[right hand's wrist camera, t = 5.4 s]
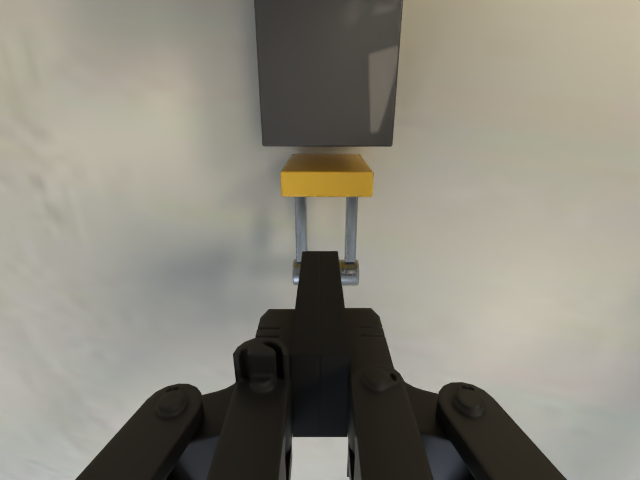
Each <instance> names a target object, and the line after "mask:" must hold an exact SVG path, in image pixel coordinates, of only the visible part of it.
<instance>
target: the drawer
mask: <svg viewBox="0 0 640 480" xmlns="http://www.w3.org/2000/svg"><path fill="white" fill-rule="evenodd" d="M373 175H374V173H373V171H372V170H371V169H370V167H369V166H368V165H367V163H366V162H365V161H364V159H363V158H362V157H361V155H359V154H293V155H292V156H291V157H290V159H289V160H288V162H287V163H286V165H285V166H284V168H283V169H282V171H281V173H280V177H281V195H282V196H283V197H295V221H296V259H295V260H294V262H293V284H294V285H298V282H299V274H300V266H301V257H302V251H307V205H306V197H346V221H345V257H344V258H345V260H339V266H340V274H341V282H342V285H358V283H359V263H358V260H355V256H356V231H357V206H358V197H371V196H372V193H373Z"/></svg>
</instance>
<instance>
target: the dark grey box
mask: <svg viewBox="0 0 640 480" xmlns="http://www.w3.org/2000/svg"><path fill="white" fill-rule="evenodd" d="M254 5H255V22H256V40H257V57H258V75H259V92H260V110H261V127H262V145H263V146H383V147H391V146H392V143H393V129H394V115H395V101H396V88H397V74H398V60H399V46H400V33H401V19H402V5H403V0H254Z"/></svg>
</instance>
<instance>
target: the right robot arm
mask: <svg viewBox="0 0 640 480" xmlns="http://www.w3.org/2000/svg"><path fill="white" fill-rule="evenodd" d="M233 359H234V368H235V377H236V383H235V384H233V385H231V386H230V387H228V388H226V389H223V390H220V391H217V392H213V393H209V394H205V395H202V394H201V392H200V391H199V390H198V388H197V387H195V386H192V385H190V384H175V385H171V386H167V387H165V388H163V389H161V390H159V391H157V392H155V393H154V394H153V395H152V396H151V397H150V398H148V399H147V400H146V401H145V403H144V404H143V405H142V406H141V407H140V408H139V409H138V410H137V411H136V413H135V414H134V415H133V416H132V417H131V418H130V419H129V420H128V422H127V423H126V424H125V425H124V426H123V427H122V428H121V429H120V430H119V432H118V433H117V434H116V435H115V436H114V437H113V438H112V439H111V440H110V442H109V443H108V444H107V445H106V446H105V447H104V448H103V449H102V451H101V452H100V453H99V454H98V455H97V456H96V457H95V458H94V459H93V461H92V462H91V463H90V464H89V465H88V466H87V467H86V468H85V469H84V471H83V472H82V473H81V474H80V475H79V476H78V477H77V478H76V480H290V478H291V465H292V434H293V437H347V434H348V464H347V477H349V478H350V480H567V479H566V478H565V477H564V476H563V475H562V474H561V473H560V472H559V471H558V469H557V468H556V467H555V466H554V465H553V464H552V463H551V462H550V461H549V459H548V458H547V457H546V456H545V455H544V454H543V453H542V452H541V451H540V449H539V448H538V447H537V446H536V445H535V444H534V443H533V442H532V441H531V440H530V438H529V437H528V436H527V435H526V434H525V433H524V432H523V431H522V430H521V428H520V427H519V426H518V425H517V424H516V423H515V422H514V421H513V420H512V418H511V417H510V416H509V415H508V414H507V413H506V412H505V411H504V410H503V408H502V407H501V406H500V405H499V404H498V403H497V402H496V401H495V400H494V398H492V397H491V396H490V395H489V394H488V393H487V392H485V391H484V390H482V389H480V388H478V387H476V386H474V385H471V384H467V383H463V382H455V383H449V384H447V385H445V386H443V387H442V389H441V390H440V391H439V394H437V393H433V392H429V391H425V390H421V389H418V388H415V387H413V386H411V385H409V384H407V383H406V382H405V381H404V380H403V378H402V377H401V375H400V373H398V372H397V371H396V370H395V369H394V367H393V363H392V360H391V356H390V353H389V349H388V345H387V342H386V338H385V336H384V331H383V328H382V324H381V321H380V317H379V316H378V315H377V314H376V313H375V312H374V311H373V310H372V309H371V308H345V306H344V298H343V290H342V282H341V274H340V266H339V257H338V251H302V257H301V266H300V274H299V282H298V290H297V298H296V306H295V309H269V310H268V311H267V312H266V313H265V314H264V315H263V316H262V317H261V318H260V322H259V326H258V330H257V333H256V338H254V339H251V340H249V341H246V342H244V343H243V344H241V345H240V346H239V347H237V349H236V350H235V352H234V354H233Z"/></svg>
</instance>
